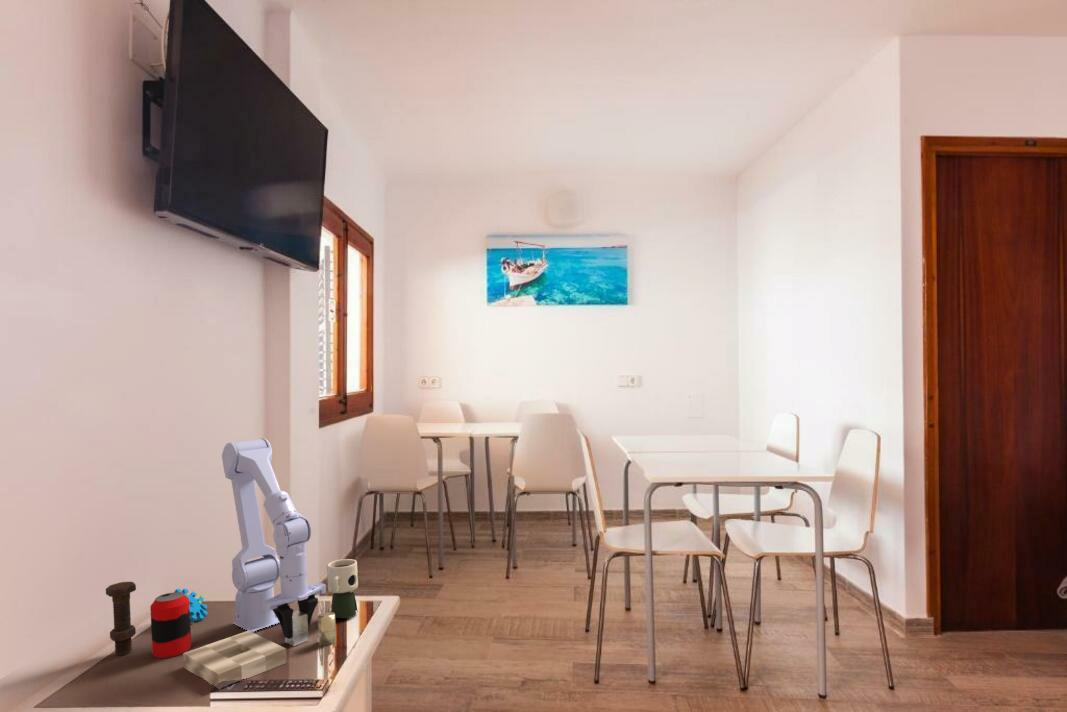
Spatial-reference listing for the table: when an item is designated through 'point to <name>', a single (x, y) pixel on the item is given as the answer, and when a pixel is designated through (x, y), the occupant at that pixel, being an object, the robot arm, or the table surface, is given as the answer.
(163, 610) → the soda can
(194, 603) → the gear
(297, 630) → the square bit
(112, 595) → the bolt
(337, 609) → the character mug
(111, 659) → the table surface
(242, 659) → the socket plate
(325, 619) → the round bit
